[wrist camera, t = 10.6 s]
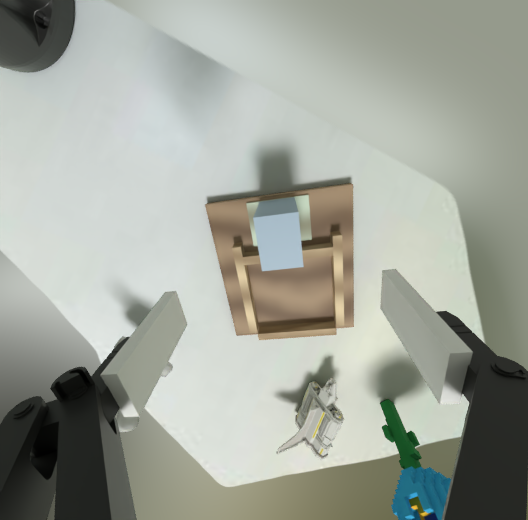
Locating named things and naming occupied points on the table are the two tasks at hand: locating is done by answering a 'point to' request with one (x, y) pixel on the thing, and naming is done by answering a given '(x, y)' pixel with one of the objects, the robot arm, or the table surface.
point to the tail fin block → (278, 234)
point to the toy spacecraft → (317, 420)
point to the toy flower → (413, 474)
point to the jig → (293, 279)
